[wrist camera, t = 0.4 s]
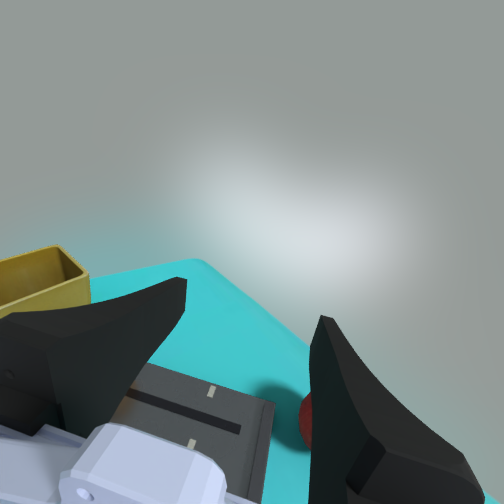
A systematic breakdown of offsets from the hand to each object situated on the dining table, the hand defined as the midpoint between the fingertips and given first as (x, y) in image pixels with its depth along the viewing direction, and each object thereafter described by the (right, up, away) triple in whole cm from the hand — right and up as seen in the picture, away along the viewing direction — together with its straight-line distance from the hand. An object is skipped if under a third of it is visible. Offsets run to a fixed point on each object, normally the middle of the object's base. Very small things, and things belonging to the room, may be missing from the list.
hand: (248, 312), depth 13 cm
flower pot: (-26, -7, +19) cm, 33 cm away
